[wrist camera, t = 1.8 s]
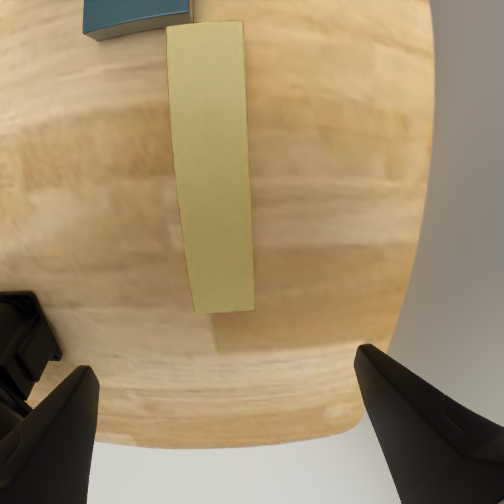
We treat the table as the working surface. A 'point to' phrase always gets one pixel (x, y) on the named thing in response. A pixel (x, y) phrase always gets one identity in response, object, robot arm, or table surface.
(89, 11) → the butter dish
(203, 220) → the butter
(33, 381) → the robot arm
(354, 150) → the table surface
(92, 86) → the table surface
